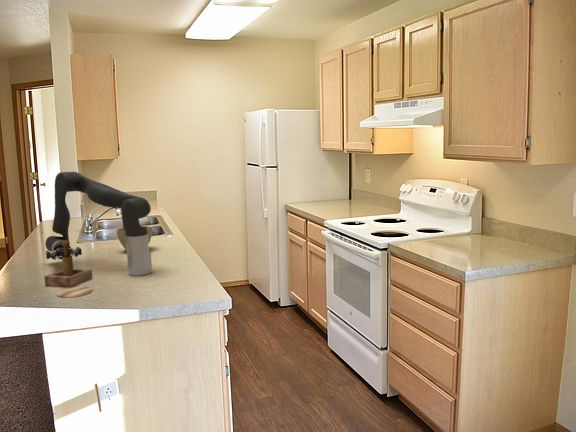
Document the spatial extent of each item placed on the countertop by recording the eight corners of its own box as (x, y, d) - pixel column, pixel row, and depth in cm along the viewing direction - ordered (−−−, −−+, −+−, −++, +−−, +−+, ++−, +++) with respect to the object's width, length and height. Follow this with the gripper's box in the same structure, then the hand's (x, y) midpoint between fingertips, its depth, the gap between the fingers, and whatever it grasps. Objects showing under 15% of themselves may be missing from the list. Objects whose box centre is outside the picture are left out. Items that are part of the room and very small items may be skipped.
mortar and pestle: (59, 285, 211) (55, 242, 208) (62, 281, 217) (58, 239, 215) (77, 283, 213) (73, 240, 210) (78, 279, 219) (75, 237, 216)
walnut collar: (92, 278, 220) (91, 269, 219) (71, 287, 207) (70, 277, 206) (67, 277, 223) (66, 268, 223) (45, 286, 210) (44, 276, 210)
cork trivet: (99, 288, 204) (99, 287, 204) (78, 298, 192) (78, 297, 192) (72, 286, 208) (71, 285, 208) (49, 296, 196) (49, 295, 195)
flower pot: (158, 247, 281) (157, 225, 279) (146, 255, 263) (144, 231, 261) (126, 247, 282) (125, 225, 281) (112, 255, 265) (110, 231, 263)
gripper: (43, 243, 229) (46, 249, 215) (77, 239, 236) (82, 245, 222) (45, 259, 230) (48, 267, 216) (78, 255, 237) (84, 262, 223)
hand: (65, 255), depth 219 cm, fingers open, 8 cm apart
